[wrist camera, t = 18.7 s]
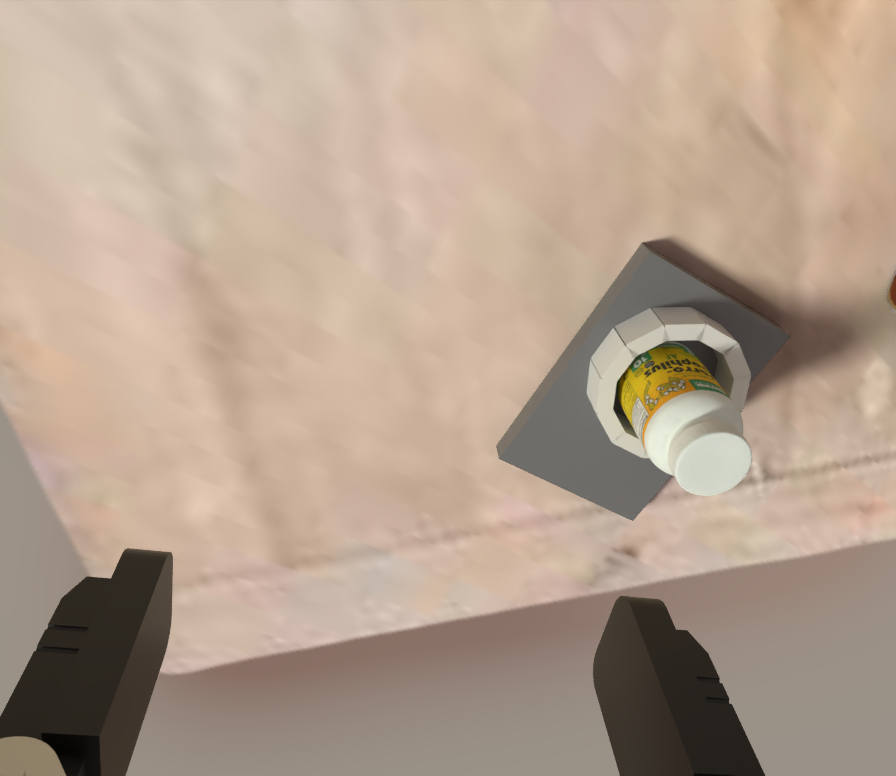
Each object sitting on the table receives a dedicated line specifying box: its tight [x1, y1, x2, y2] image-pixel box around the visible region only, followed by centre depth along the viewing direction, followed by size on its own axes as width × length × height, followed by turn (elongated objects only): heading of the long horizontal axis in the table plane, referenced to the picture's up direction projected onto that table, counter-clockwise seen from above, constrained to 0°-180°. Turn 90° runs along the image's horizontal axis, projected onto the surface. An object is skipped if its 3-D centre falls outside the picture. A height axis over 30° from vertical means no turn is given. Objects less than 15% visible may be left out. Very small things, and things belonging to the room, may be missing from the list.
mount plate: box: [496, 243, 790, 521], centre depth 48 cm, size 16×11×4 cm
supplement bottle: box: [615, 341, 752, 496], centre depth 43 cm, size 5×5×10 cm
